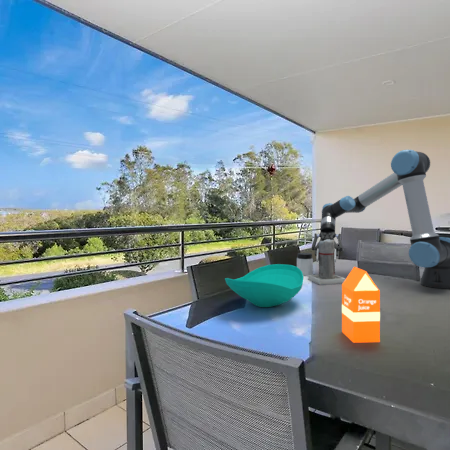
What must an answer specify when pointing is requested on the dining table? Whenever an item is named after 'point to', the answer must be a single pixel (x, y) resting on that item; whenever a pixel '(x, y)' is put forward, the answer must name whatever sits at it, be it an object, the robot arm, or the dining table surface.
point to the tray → (326, 280)
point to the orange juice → (360, 307)
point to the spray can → (326, 259)
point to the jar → (305, 263)
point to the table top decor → (268, 284)
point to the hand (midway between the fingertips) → (326, 260)
